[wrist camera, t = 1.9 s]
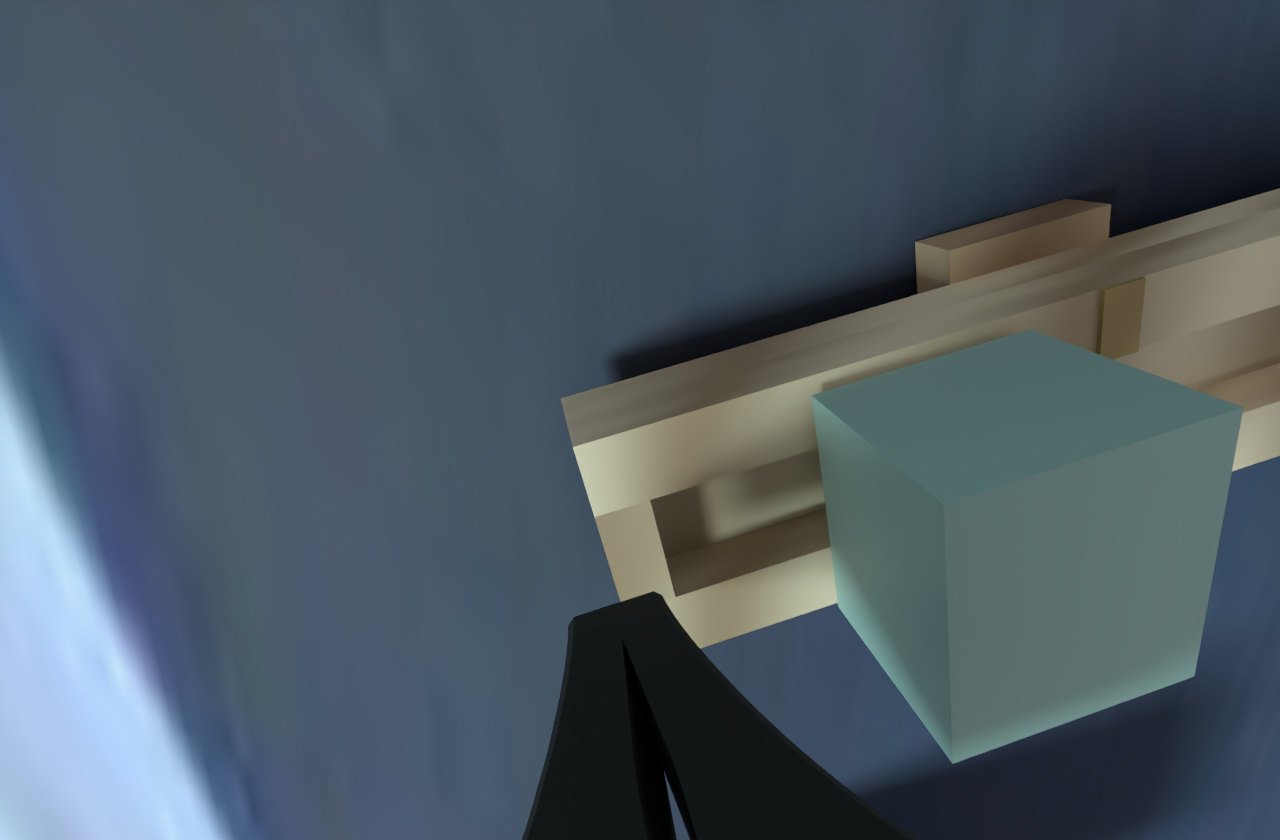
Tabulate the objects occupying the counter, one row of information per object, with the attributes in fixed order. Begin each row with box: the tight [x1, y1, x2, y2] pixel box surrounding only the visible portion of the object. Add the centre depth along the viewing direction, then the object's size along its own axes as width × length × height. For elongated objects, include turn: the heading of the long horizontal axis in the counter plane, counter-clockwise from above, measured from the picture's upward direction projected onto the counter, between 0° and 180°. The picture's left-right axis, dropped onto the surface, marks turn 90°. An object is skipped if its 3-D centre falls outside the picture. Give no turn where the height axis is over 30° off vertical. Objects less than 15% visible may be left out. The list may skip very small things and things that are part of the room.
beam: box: [561, 188, 1280, 648], centre depth 14 cm, size 20×6×4 cm, turn 103°
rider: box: [811, 329, 1244, 764], centre depth 11 cm, size 4×5×5 cm
